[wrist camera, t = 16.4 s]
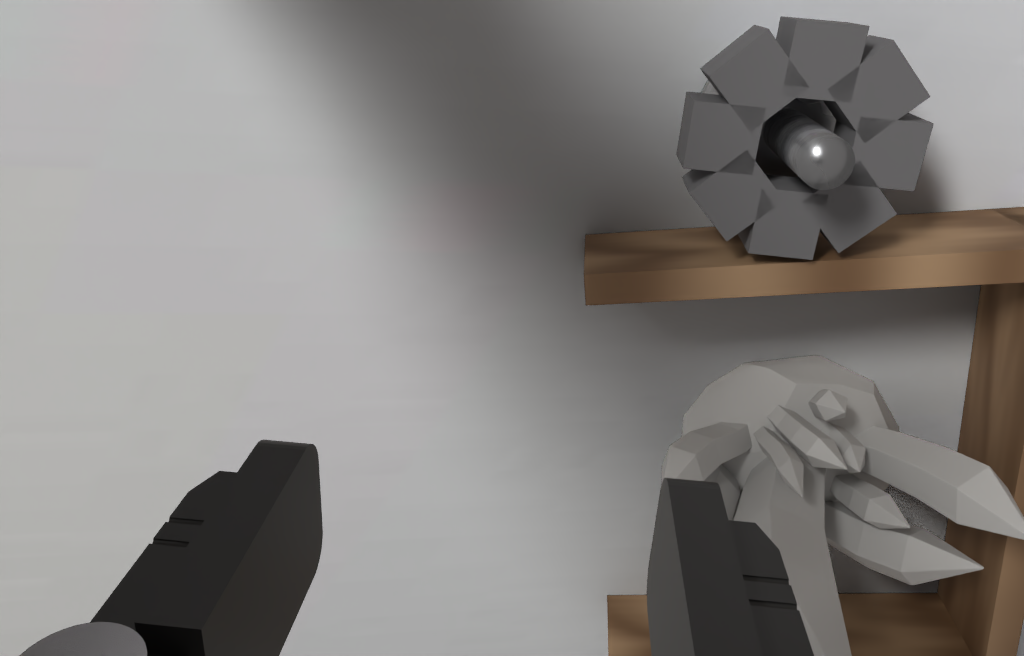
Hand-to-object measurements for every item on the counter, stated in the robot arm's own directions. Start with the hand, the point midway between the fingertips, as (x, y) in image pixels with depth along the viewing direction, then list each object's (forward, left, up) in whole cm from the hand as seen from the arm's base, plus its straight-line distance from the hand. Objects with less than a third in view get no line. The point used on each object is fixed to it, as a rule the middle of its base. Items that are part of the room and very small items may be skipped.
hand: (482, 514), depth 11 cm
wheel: (-3, +8, -20) cm, 22 cm away
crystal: (+12, +12, -23) cm, 29 cm away
